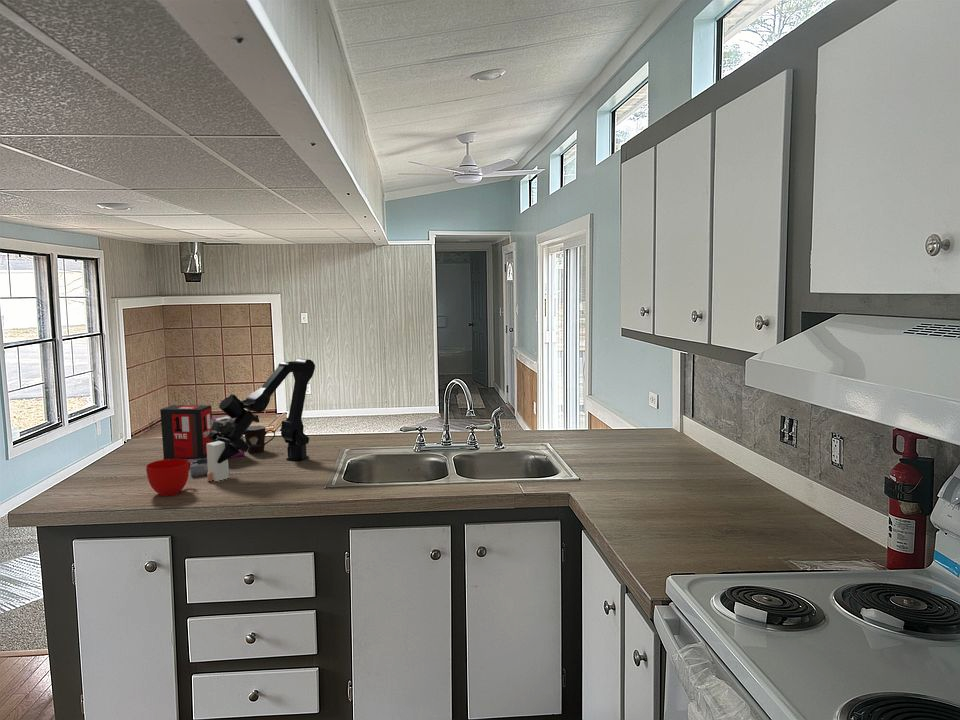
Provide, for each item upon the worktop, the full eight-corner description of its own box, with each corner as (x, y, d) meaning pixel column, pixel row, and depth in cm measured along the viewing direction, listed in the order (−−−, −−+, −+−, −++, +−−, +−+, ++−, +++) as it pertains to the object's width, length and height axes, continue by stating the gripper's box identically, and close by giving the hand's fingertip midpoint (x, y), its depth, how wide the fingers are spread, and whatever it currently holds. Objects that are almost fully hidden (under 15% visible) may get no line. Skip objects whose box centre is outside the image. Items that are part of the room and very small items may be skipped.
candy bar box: (237, 453, 284) (235, 413, 282) (244, 455, 281) (242, 415, 279) (212, 459, 275) (210, 418, 273) (219, 461, 272) (217, 420, 270)
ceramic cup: (206, 485, 241) (204, 456, 240) (172, 500, 225) (170, 470, 224) (174, 482, 245) (172, 454, 243) (139, 497, 228) (137, 467, 227)
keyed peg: (221, 476, 252) (219, 440, 250) (229, 478, 248) (227, 442, 247) (204, 480, 246) (202, 444, 245) (212, 483, 243) (210, 446, 242)
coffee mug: (240, 453, 284) (239, 429, 283) (253, 448, 292) (251, 425, 291) (265, 455, 280) (263, 430, 279) (277, 450, 289) (276, 426, 287)
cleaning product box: (163, 459, 278) (160, 409, 275) (175, 453, 286) (172, 405, 284) (203, 459, 276) (200, 409, 273) (214, 453, 285) (211, 405, 282)
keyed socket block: (222, 464, 268) (222, 455, 267) (226, 472, 257) (225, 462, 256) (188, 468, 262) (188, 459, 262) (191, 476, 252) (190, 467, 251)
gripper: (210, 409, 254) (183, 445, 247) (239, 415, 242) (212, 453, 235) (231, 427, 261) (205, 462, 254) (260, 433, 249) (234, 470, 242)
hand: (213, 461), depth 246 cm, fingers closed on keyed peg, 5 cm apart
